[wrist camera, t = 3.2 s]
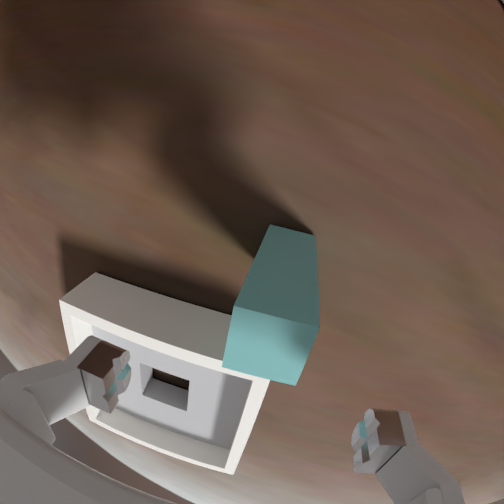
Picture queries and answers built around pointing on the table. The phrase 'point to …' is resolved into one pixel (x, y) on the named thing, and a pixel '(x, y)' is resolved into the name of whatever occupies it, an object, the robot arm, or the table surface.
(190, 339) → the box
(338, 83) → the table surface
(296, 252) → the peg
